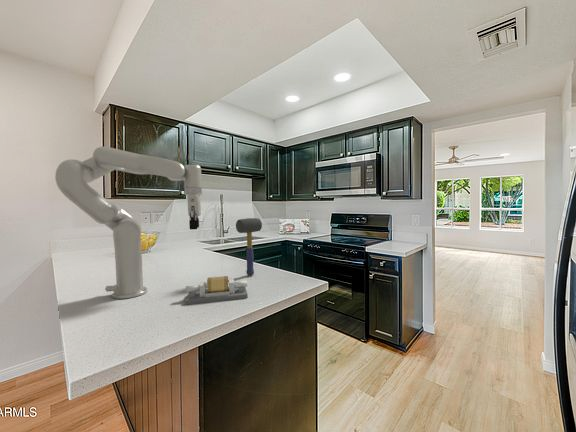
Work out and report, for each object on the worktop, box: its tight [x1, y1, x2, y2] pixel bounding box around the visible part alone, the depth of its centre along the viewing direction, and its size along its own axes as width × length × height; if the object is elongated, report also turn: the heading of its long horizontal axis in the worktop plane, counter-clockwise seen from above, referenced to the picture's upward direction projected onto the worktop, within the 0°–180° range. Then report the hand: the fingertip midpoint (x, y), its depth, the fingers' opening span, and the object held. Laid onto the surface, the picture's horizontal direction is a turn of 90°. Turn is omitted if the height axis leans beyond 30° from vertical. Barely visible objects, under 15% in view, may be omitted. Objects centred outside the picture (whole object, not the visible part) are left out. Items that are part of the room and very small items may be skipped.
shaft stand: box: [184, 278, 249, 305], centre depth 103 cm, size 24×10×6 cm, turn 104°
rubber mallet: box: [235, 217, 263, 277], centre depth 132 cm, size 12×8×30 cm, turn 131°
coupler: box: [206, 275, 229, 293], centre depth 103 cm, size 8×4×6 cm, turn 104°
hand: (194, 228), depth 120 cm, fingers open, 9 cm apart
